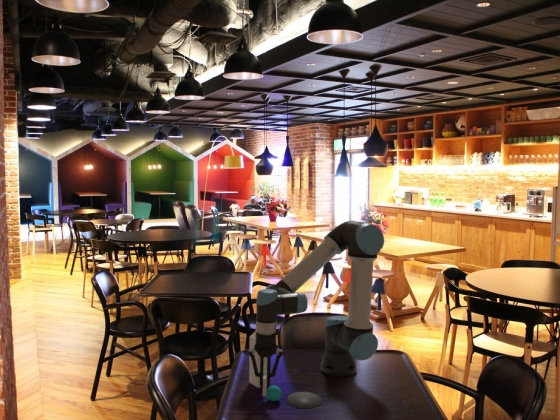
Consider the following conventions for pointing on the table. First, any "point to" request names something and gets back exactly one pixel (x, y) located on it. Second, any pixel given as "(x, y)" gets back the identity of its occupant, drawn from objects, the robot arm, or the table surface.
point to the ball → (273, 393)
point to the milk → (252, 377)
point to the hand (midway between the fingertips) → (264, 394)
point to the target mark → (303, 400)
